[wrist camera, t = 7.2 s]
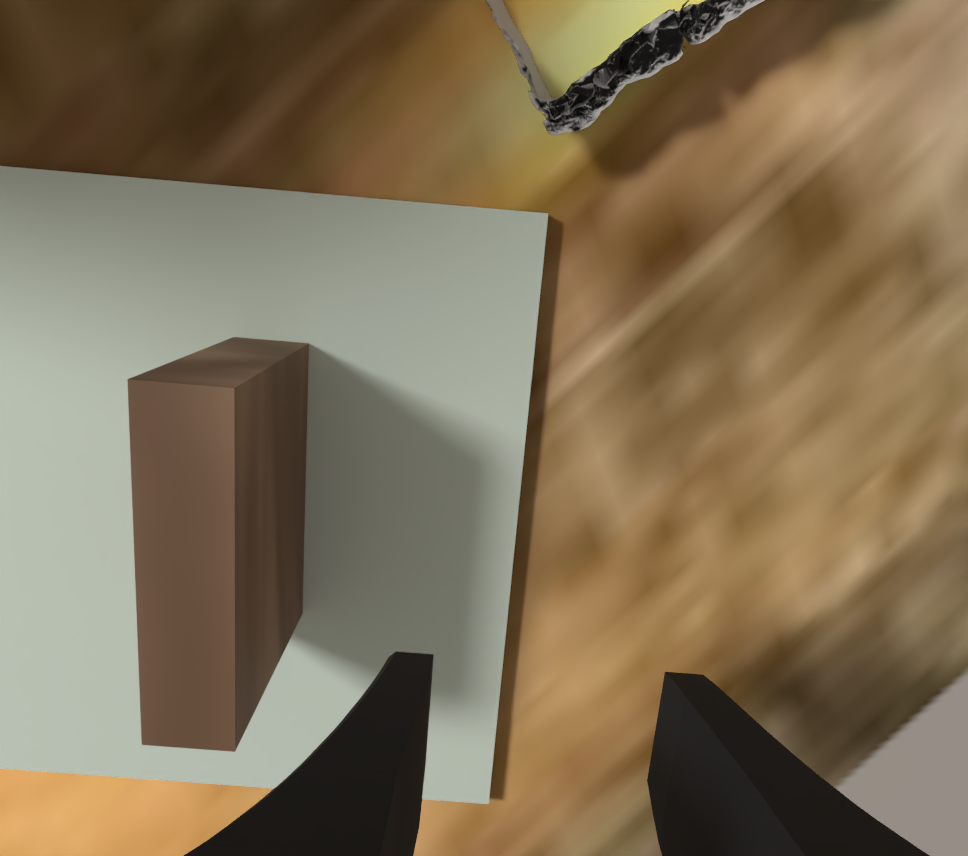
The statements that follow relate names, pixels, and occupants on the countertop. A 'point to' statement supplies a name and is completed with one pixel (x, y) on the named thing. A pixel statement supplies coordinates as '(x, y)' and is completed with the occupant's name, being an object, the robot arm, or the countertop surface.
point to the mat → (329, 453)
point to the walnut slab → (216, 533)
